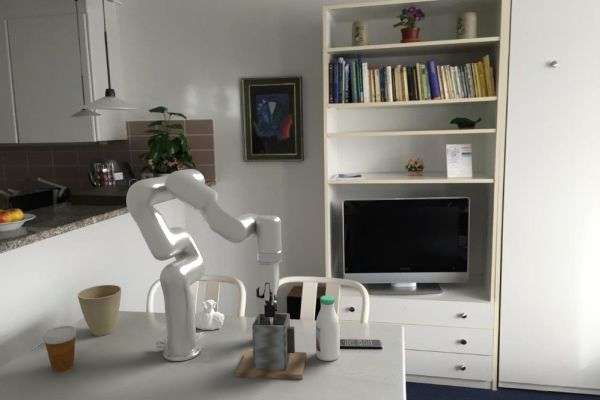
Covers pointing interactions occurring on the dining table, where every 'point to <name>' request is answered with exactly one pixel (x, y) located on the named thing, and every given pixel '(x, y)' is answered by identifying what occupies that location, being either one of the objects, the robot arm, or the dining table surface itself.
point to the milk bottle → (327, 331)
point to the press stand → (273, 350)
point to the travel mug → (260, 302)
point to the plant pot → (100, 308)
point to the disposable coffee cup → (60, 347)
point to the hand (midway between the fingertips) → (271, 313)
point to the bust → (209, 317)
